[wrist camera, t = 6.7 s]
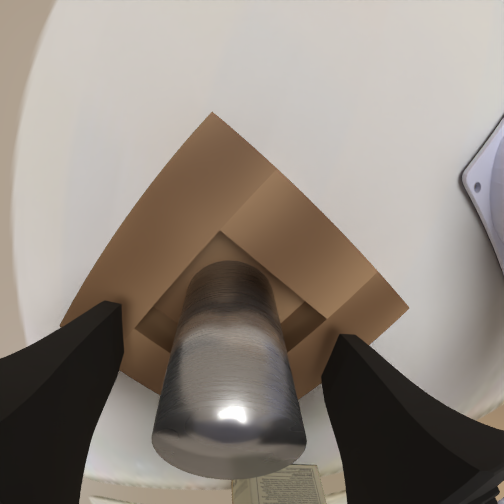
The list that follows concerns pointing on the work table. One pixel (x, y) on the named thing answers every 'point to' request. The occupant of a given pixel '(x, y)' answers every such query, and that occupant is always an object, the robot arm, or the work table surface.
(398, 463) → the robot arm
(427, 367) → the work table surface
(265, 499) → the skincare box
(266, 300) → the pin
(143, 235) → the socket block
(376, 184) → the work table surface
